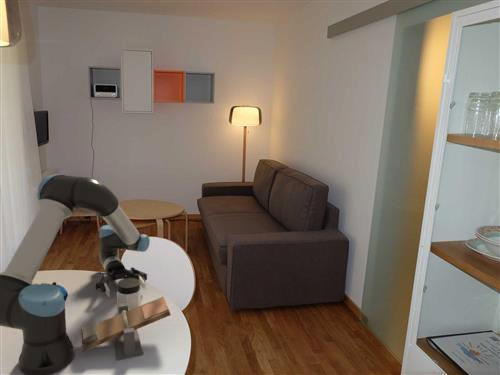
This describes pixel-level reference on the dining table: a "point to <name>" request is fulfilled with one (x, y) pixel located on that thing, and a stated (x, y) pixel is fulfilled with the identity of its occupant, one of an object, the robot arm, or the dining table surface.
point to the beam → (122, 323)
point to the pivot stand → (127, 341)
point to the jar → (129, 293)
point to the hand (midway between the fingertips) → (127, 290)
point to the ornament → (62, 290)
